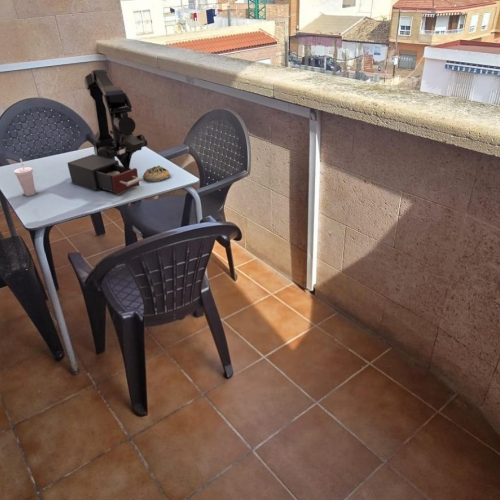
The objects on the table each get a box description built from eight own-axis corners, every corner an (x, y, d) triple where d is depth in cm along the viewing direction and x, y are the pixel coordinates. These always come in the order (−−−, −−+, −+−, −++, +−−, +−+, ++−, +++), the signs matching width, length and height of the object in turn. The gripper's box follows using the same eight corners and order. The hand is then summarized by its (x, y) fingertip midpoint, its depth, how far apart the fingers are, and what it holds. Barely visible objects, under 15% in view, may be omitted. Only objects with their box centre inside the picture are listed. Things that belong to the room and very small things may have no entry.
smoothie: (27, 198, 162) (17, 162, 155) (17, 195, 165) (6, 159, 158) (42, 192, 167) (32, 157, 160) (32, 189, 170) (22, 154, 163)
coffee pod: (115, 180, 171) (114, 170, 169) (124, 182, 169) (122, 172, 167) (106, 183, 168) (104, 173, 166) (114, 186, 166) (112, 176, 164)
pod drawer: (148, 187, 167) (145, 170, 164) (125, 197, 159) (122, 180, 156) (114, 177, 177) (111, 161, 173) (92, 186, 169) (88, 170, 165)
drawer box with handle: (121, 181, 176) (118, 160, 171) (96, 191, 167) (92, 170, 163) (97, 173, 184) (93, 154, 179) (72, 183, 175) (67, 162, 170)
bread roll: (154, 170, 185) (154, 159, 182) (175, 177, 181) (175, 166, 178) (137, 179, 177) (136, 168, 174) (158, 187, 173) (158, 176, 170)
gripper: (114, 137, 142) (122, 181, 150) (155, 124, 155) (160, 166, 163) (92, 132, 148) (101, 175, 156) (134, 120, 161) (140, 160, 169)
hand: (127, 169), depth 161 cm, fingers closed
